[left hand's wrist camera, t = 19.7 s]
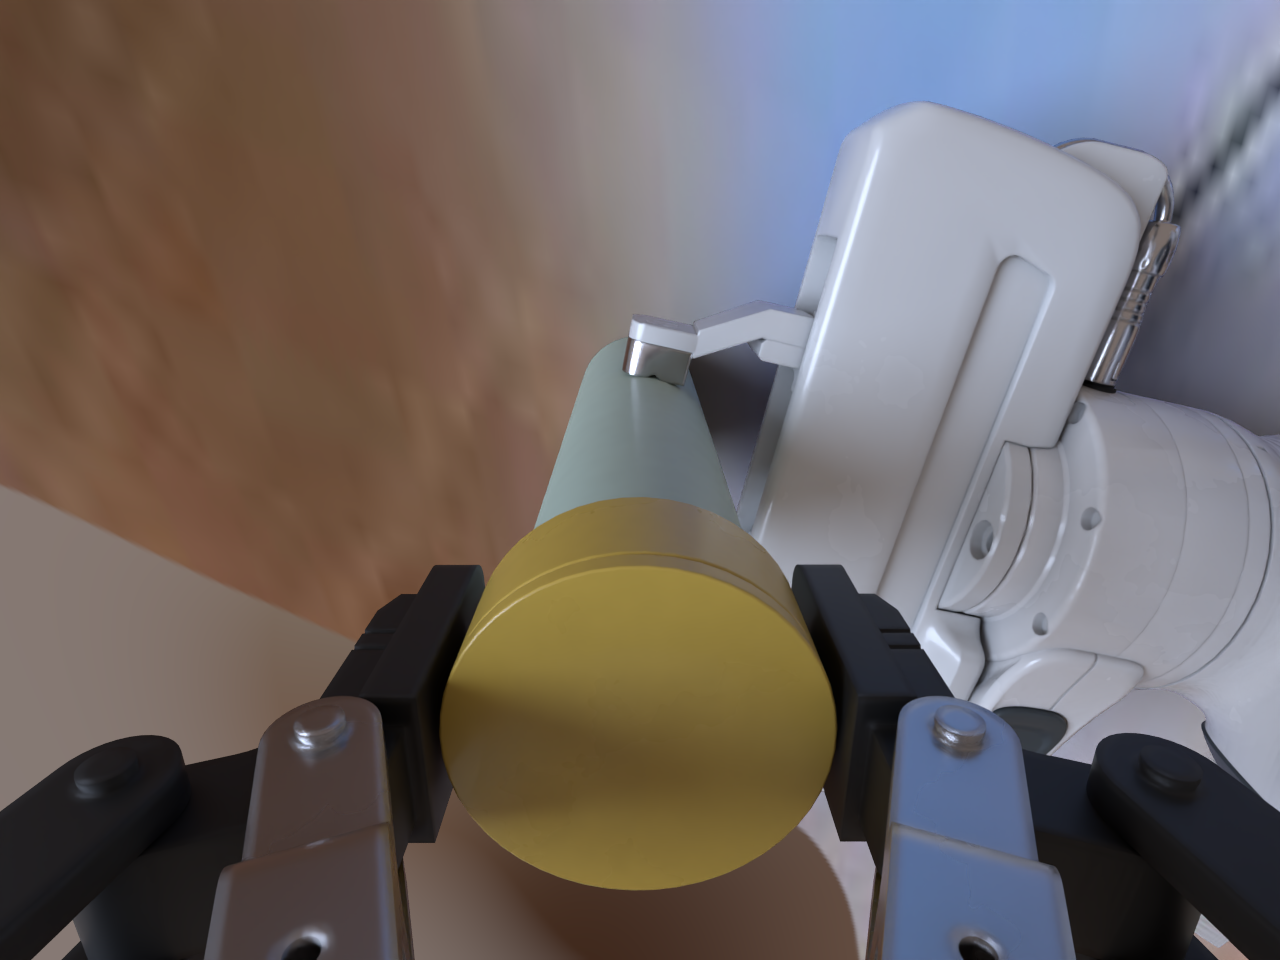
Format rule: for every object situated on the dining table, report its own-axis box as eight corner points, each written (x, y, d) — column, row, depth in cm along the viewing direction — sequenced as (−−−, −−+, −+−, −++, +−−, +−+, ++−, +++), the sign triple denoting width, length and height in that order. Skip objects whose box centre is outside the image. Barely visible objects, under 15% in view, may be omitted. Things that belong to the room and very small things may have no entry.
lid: (525, 797, 12) (503, 917, 10) (431, 534, 10) (381, 612, 8) (820, 744, 12) (860, 857, 10) (773, 462, 10) (808, 527, 8)
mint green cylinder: (685, 328, 26) (777, 549, 9) (699, 436, 28) (803, 807, 10) (572, 345, 26) (451, 594, 9) (592, 452, 28) (520, 841, 11)
